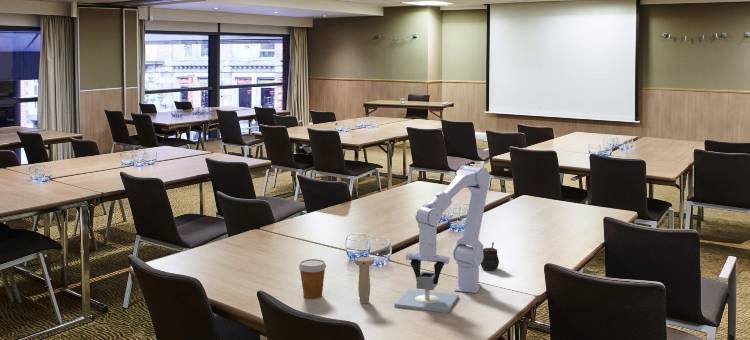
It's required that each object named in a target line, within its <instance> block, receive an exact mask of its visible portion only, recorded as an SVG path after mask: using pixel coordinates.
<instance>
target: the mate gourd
mask: <svg viewBox="0 0 750 340" xmlns="http://www.w3.org/2000/svg"><path fill="white" fill-rule="evenodd" d="M494 243H495V242H494V241H493V242H492V243H491V247H485V248H484V247H483V261H482V263H481V264H480V267H481V268H482V269H483V270H484V271H487V272H488V271H490V272H491V271H495V270H497V269H498V268H499V264H500V259H499V256H498V249H497V248H494Z"/></svg>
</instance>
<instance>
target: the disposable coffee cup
mask: <svg viewBox="0 0 750 340" xmlns="http://www.w3.org/2000/svg"><path fill="white" fill-rule="evenodd" d="M326 268H327V263H326V261H325V260H323V259H318V258H310V259H309V258H308V259H303V260H301V261H300V262H299V265H298V269H299V272H300V280H301V285H302V292H303V293H302V294H303V298H305V299H308V300H314V299H319V298H322V296H323V289H324V279H325V272H326V271H325V270H326Z"/></svg>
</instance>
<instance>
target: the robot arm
mask: <svg viewBox="0 0 750 340" xmlns="http://www.w3.org/2000/svg"><path fill="white" fill-rule="evenodd" d="M490 180H491V174H490V172H489V170H488V169H487V168H486V167H483V166H482V167H478V166H472V165H467V164H463V165H461V166H460V167H459V169H457V170H456V174H455V177H454V178H453V180H452V181H451V183H450V184H449V185H448V186H447V187H446V188H445V190H444V191H439V192H436V194H435V195H434V197H433V198H432V199H431V200H430V201H429V202H428V203H427V204H426V205H425V206H421V207H420V208H418V210H417V212H416V215H415V217H414V218H415V220H416V222H417V227H418V229H419V231H418V236H419V237H418V238H419V239H418V241H419V242H418V246H419V248H418V252H417V253H415V252H413V253H411V252H407V253H406V254H405V260H406V261H410V266H411V268H412V270H413V273H414V276H415V279H416V282H417V276H418V275H419V274H420V273H421V265H422V262H427V263H429V262H430V263H431V262H432V263H434V265H433V268H434V273H435V280H434V281H435V284H437V283H438V284H439V279H440V275H441V272H442V269H443V268H444V266H445V265H448V264H449V263H450V256H446V255H440V254H437V229H438V228H437V225H438V224H439V223H440V222H441V218H442V217H443V213H444V212H445V211H446V210H447V209H448V208H449V207H451V205H452V199H453V198H454V197H455V196H456V195H457V194H458V193H459V192H461V191H462V190H463V189H464V188H465V187H466V188H467V189H468V190H469V191H470V199H469V204H468V208H467V214H466V220H465V226H464V230H463V236H462V237H460V238H458V239H457V241H456V245H455V247H454V248H453V252H452V256H453V257H452V258H453V259H454V261H456V262H455V264H457V283H456V284H457V285H456V286H455V288H454V289H453V290H454V291H455V292H464V293H472V294H476V293H478V291H479V290H480V288H481V287H482V283H480V282H479V281H480V279H479V278H480V267H481V263H482V261H483V249H484V244H483V243H482V242H481V241H480V239H479V238H480V233H481V227H482V221H483V215H484V212H485V205H486V202H487V201H486V200H487V195H488V191H489V187H490V186H489V184H490Z"/></svg>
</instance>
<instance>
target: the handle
mask: <svg viewBox="0 0 750 340" xmlns="http://www.w3.org/2000/svg"><path fill="white" fill-rule="evenodd" d="M354 263H355V265H357V266H358V268H359V269H358V283H357V284H358V288H357V289H358V297H359V303H361V304H368V303H369V302H370V297H371V296H370V295H371V278H370V266H371V265H374V263H375V258H374V257H370V256H369V257H368V256H360V257H355V258H354Z"/></svg>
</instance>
